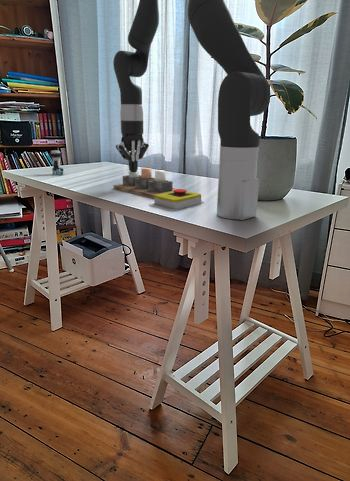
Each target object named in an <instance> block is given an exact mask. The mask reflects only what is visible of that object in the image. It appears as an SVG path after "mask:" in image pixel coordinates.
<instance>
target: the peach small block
mask: <svg viewBox="0 0 350 481" xmlns="http://www.w3.org/2000/svg"><path fill="white" fill-rule="evenodd" d="M140 171H141V172H140V175H141V179H143V180H149V179H152V178H153V177H152V168H151V167H143V168H141V169H140Z"/></svg>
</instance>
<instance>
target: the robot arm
mask: <svg viewBox="0 0 350 481" xmlns="http://www.w3.org/2000/svg"><path fill="white" fill-rule="evenodd" d="M159 5H160V4H159V0H139V2H138V5H137V9H136V12H135V16H134V18H133V20H132V24H131V27H130V30H129V33H128V35H127V42H128V44H129V45H130V47H132V48H133V49H134V50H135V51H127V50H118V51H117V52H115V55H114V58H113V62H112V64H113V70H114V74H115V77H116V80H117V84H118V88H119V92H120V93H119V94H120V114H119V116H120V133H121V139H120V140H121V141H120V143H118V144H116V145H115V148H116V150H117V151H118V153H119V154H120V155H121V157H122V158H123V159H124V160H126V161H128V171H129V172H138V168H139V167H138V166H139V165H138V161H139V160H142V159H143V157H144V156H145V154H146V152H147V150H148V148H149V144H148V143H146V142H145V141H144V136H143V134H144V109H143V90H142V87H141V86H139V85H137V84H135V83H133V81H132V79H131V78H141V77H142V76H143V75H145V73H146V72H147V69H148V64H149V57H150V50H151V46H152V43H153V40H154V38H155V36H156V33H157V30H158V28H159V24H160V6H159ZM187 18H188V22H189V24H190V26H191V28H192V29H191V30H192V31H193V33H194V35H195V37H196V39H197V41H198V43H199V45H200V46H201V47H202V49H203V50H204V51H205V52H206V53H207V54H208V55H209V56H210V57H211V58H212V60H214V61H215V62H216V63H217V64H218V65H219V66H220V67H221V68H222V69H223V70H224V72H225V73H226V75H225V77H224V78H223V80H222V81H221V83H220V86H219V90H218V96H217V132H218V135H219V140H220V144H219V145H220V146H219V163H218V164H219V165H218V183H217V200H216V201H217V203H216V204H217V205H216V215H217V216H218V217H220V218H224V219H229V220H239V221H245V220H248V219H251V218H254V217H256V216H257V212H258V211H257V209H258V202H259V201H258V200H259V199H258V198H259V188H260V179H259V178H257V174H258V173H257V171H258V159H259V151H260V150H259V149H260V134H259V133H258V132H256V131H255V130H254V129H253V128H252V125H251V117H255V116H260V115H262V114H263V113H264V112H265V111H266V110H267V108H268V107H269V106H270V105H269V104H270V102H271V96H272V95H271V88H270V84H269V81H268V80H267V78H266V77H265V75H264V73H263V72H262V70H261V69H260V67H259V66H258V64H257V63H256V62H255V60H254V58H253V57H252V55H251V53H250V51H249V49H248V48H247V46H246V44H245V42H244V39H243V38H242V36H241V35H242V34H241V33H240V32H239V30H238V28H237V25H236V24H235V21H234V19H233V16H232V14H231V13H230V10H229V8H228V6H227V4H226V2H225V0H188V5H187Z"/></svg>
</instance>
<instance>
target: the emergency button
mask: <svg viewBox="0 0 350 481" xmlns="http://www.w3.org/2000/svg"><path fill="white" fill-rule="evenodd" d="M153 200H154V202H153V203H150V204H148V206H149V207H153V208H155V209H159V210H163V211H166V212H167V211H169V212H172V211H176V210H177V209H178V210H180V209H181V208H182V209H186V208H189V207H194V206H197V205H202V204H205V201H203V200H202V194H201V193H198V192H194V191H193V192H192V191H188V190H186V189H183V188H175V190H173V191H172V192H167V193H162V194H156V195H155V199H153ZM185 207H186V208H185ZM182 209H181V210H182Z"/></svg>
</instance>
